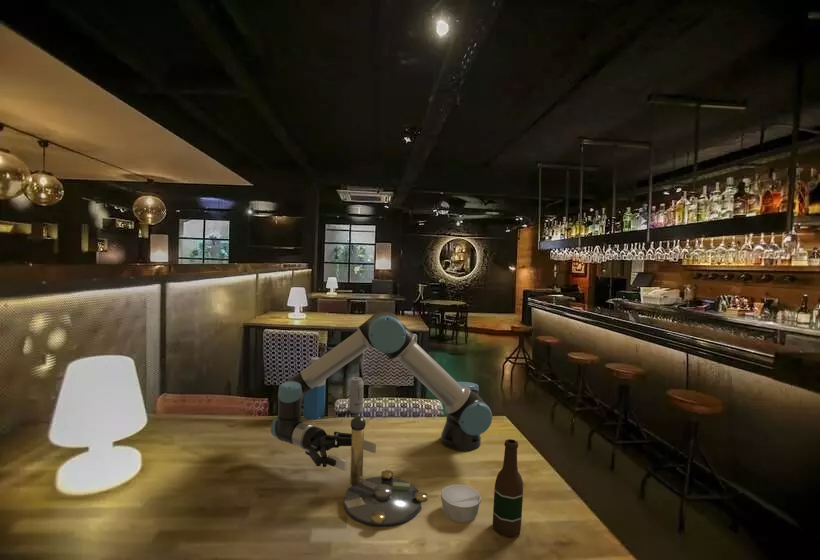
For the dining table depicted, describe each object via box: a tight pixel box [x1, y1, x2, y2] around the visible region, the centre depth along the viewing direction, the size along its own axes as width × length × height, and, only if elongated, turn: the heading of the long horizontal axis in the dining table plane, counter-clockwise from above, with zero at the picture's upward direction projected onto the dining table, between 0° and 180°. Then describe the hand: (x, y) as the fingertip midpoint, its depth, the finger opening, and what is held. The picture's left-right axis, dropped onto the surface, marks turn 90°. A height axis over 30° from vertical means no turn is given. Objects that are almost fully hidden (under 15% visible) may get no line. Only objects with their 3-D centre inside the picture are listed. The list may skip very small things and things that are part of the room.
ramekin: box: [440, 484, 482, 523], centre depth 123 cm, size 11×11×5 cm
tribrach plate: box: [343, 469, 429, 528], centre depth 126 cm, size 24×26×3 cm
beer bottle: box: [492, 438, 524, 539], centre depth 116 cm, size 8×8×24 cm
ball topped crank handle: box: [349, 415, 392, 501], centre depth 128 cm, size 15×5×21 cm, turn 57°
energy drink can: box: [348, 376, 365, 415], centre depth 195 cm, size 6×6×15 cm
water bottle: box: [302, 356, 327, 420], centre depth 189 cm, size 9×9×25 cm
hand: (361, 456), depth 130 cm, fingers open, 13 cm apart
